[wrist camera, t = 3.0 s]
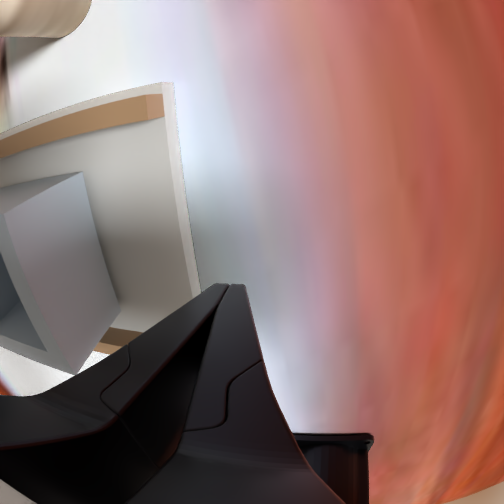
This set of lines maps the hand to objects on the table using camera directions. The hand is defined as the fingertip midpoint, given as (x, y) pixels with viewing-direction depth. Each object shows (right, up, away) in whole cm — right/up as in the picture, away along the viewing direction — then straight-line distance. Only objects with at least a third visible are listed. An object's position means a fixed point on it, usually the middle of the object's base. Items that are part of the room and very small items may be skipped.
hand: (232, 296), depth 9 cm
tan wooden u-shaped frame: (-12, +2, +5) cm, 13 cm away
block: (-9, +1, +4) cm, 10 cm away
